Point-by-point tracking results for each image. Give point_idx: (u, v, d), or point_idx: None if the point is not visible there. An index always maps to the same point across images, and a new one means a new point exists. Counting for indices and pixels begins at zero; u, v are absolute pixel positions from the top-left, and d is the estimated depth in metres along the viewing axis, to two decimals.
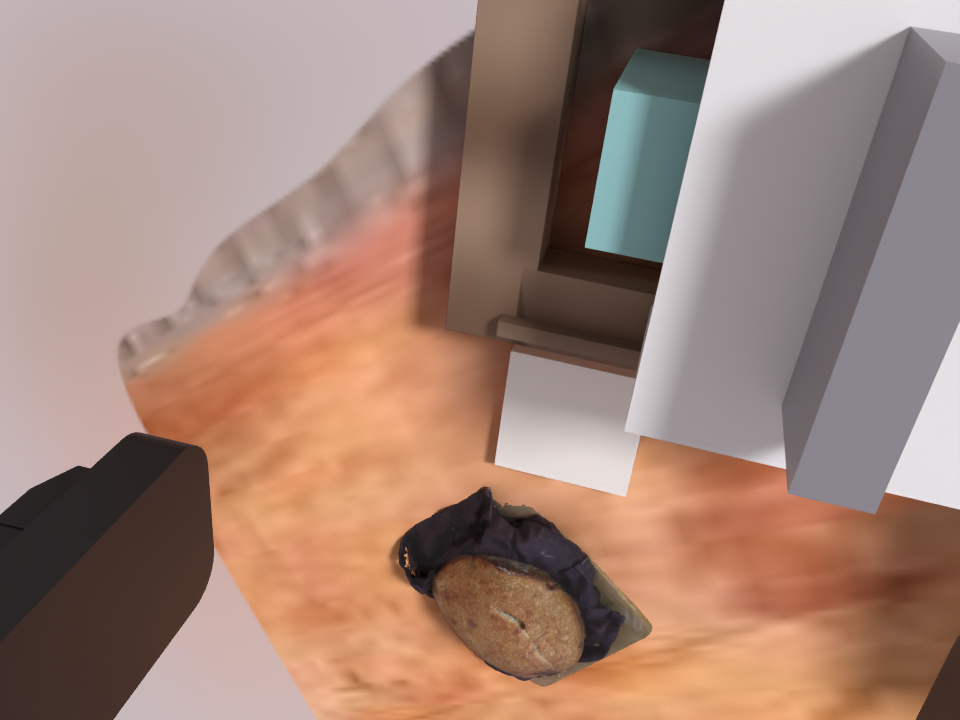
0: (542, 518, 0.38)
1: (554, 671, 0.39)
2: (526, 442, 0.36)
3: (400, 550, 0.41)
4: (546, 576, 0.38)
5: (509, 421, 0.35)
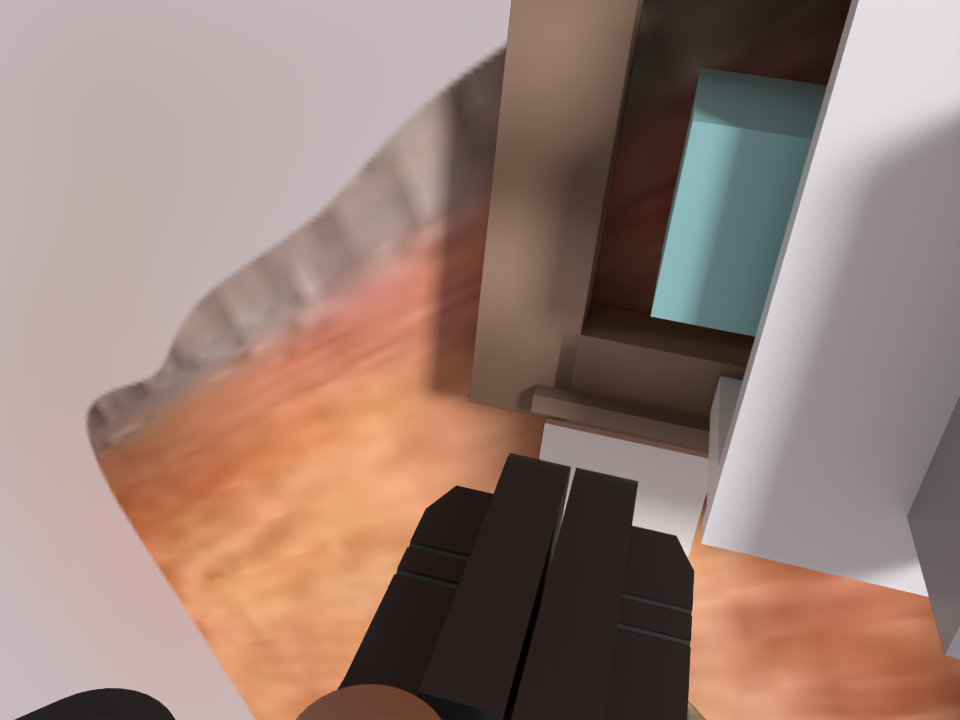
0: None
1: None
2: None
3: None
4: None
5: None
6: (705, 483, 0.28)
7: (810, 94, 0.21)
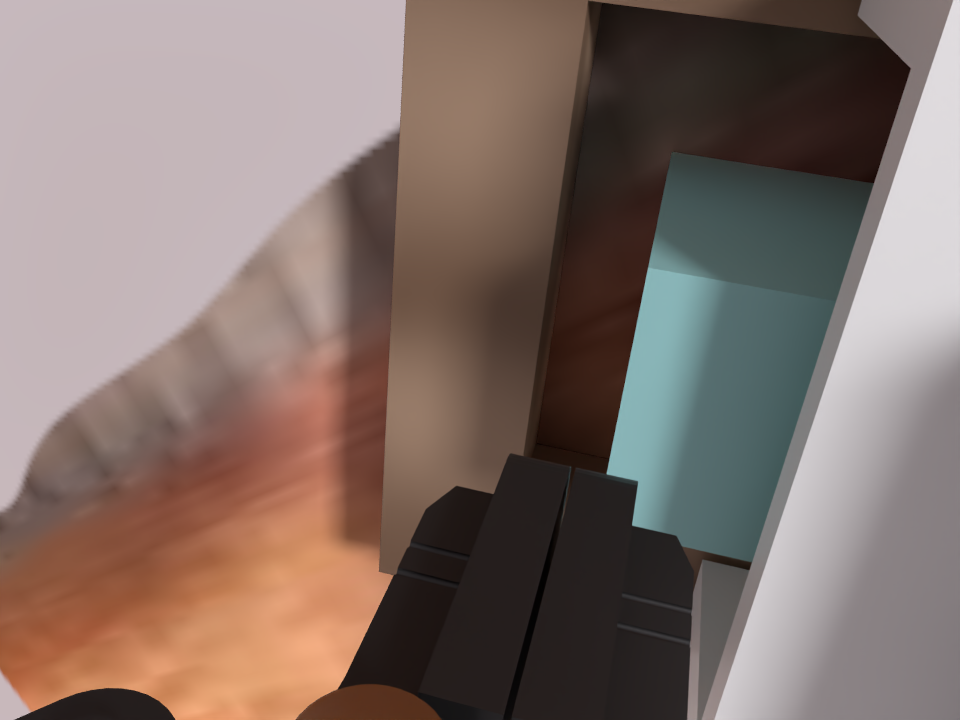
0: None
1: None
2: None
3: None
4: None
5: None
6: None
7: (823, 198, 0.15)
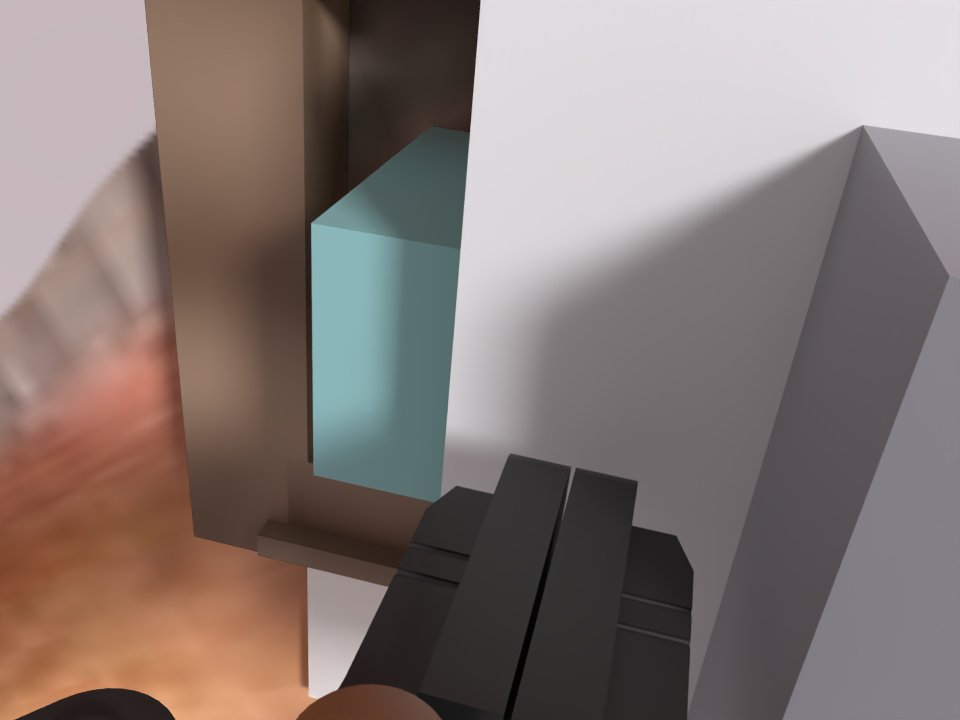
0: None
1: None
2: (347, 671, 0.25)
3: None
4: None
5: (319, 643, 0.25)
6: None
7: None
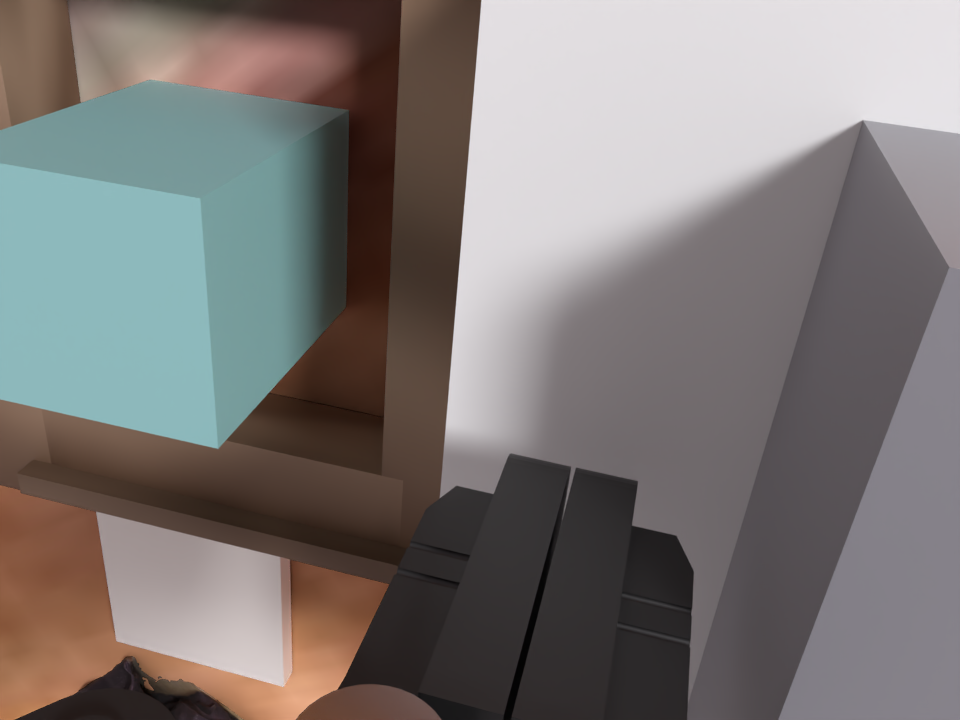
0: (205, 696, 0.28)
1: None
2: (146, 615, 0.26)
3: None
4: None
5: (118, 588, 0.26)
6: (276, 570, 0.24)
7: (231, 113, 0.17)
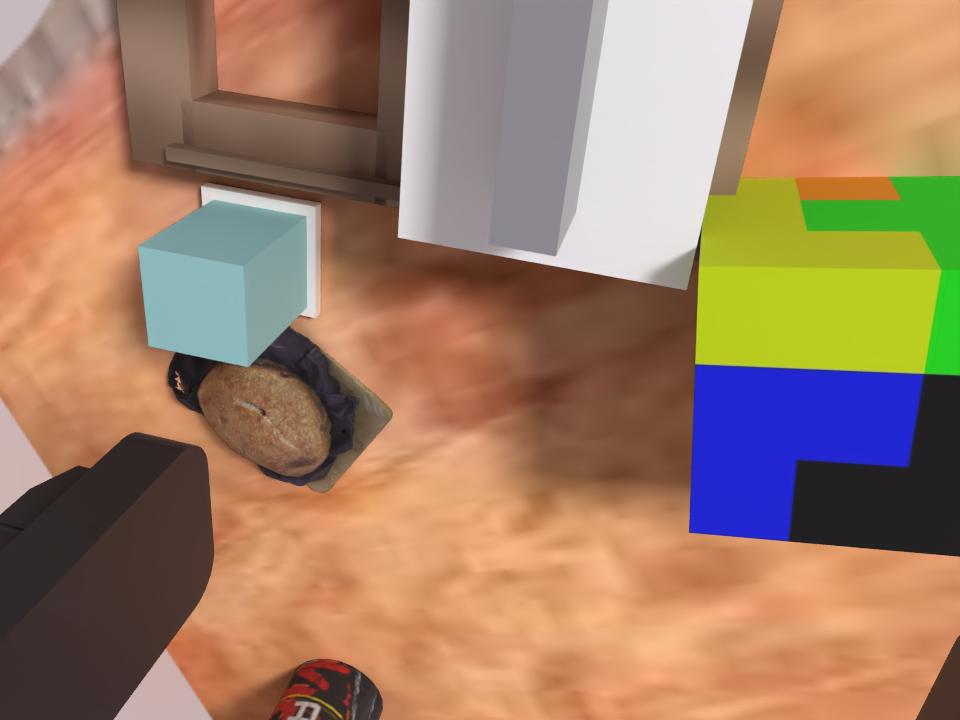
0: None
1: (307, 459, 0.44)
2: None
3: (169, 373, 0.45)
4: (283, 368, 0.43)
5: None
6: (313, 226, 0.39)
7: None
